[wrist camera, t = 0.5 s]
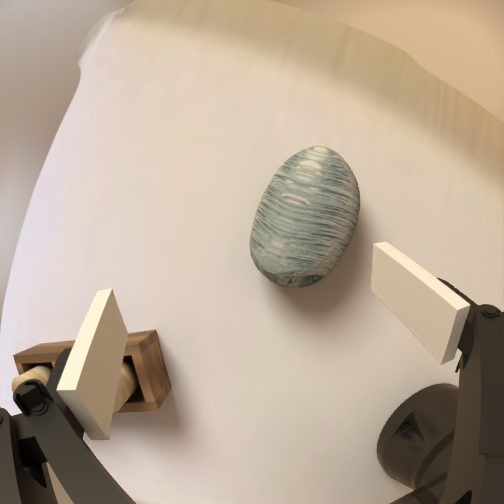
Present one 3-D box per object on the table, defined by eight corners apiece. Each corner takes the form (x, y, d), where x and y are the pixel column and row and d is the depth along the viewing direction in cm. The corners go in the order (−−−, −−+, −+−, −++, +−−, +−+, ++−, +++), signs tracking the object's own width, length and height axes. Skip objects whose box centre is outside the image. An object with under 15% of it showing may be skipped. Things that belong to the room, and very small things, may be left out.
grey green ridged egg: (325, 316, 30) (315, 280, 22) (245, 279, 35) (208, 235, 26) (375, 206, 34) (378, 144, 25) (301, 182, 38) (283, 122, 30)
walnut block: (171, 387, 33) (158, 410, 27) (55, 393, 33) (32, 410, 27) (155, 329, 33) (138, 343, 27) (40, 343, 33) (13, 355, 27)
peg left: (67, 395, 29) (45, 412, 24) (42, 395, 29) (19, 410, 24) (56, 362, 29) (31, 376, 24) (32, 364, 29) (7, 376, 24)
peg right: (144, 392, 29) (128, 413, 24) (110, 394, 29) (91, 414, 24) (133, 356, 29) (114, 372, 24) (99, 359, 29) (77, 375, 24)
